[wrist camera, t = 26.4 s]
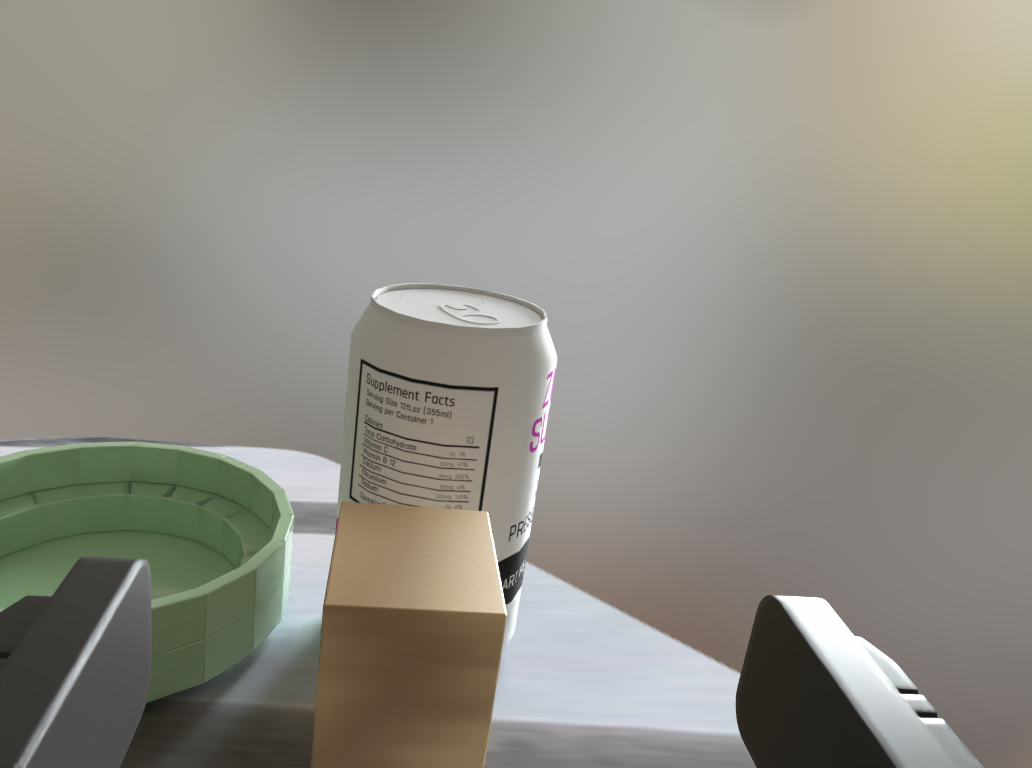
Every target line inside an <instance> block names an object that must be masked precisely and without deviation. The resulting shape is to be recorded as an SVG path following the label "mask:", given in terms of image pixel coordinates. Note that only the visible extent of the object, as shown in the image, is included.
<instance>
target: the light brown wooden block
mask: <svg viewBox="0 0 1032 768" xmlns="http://www.w3.org/2000/svg"><path fill="white" fill-rule="evenodd" d="M506 621H507V612H506V606H505V601H504V595H503V590H502V585H501V579H500V574H499V568H498V563H497V557H496V552H495V547H494V541H493V536H492V530H491V525H490V519H489V514H488V512H485V511H471V510H456V509H442V508H428V507H414V506H399V505H385V504H371V503H356V502H341V505H340V511H339V517H338V523H337V529H336V534H335V540H334V546H333V552H332V558H331V564H330V569H329V575H328V581H327V587H326V593H325V599H324V605H323V615H322V628H321V641H320V654H319V667H318V680H317V693H316V706H315V719H314V733H313V746H312V759H311V768H484V764H485V758H486V751H487V745H488V738H489V732H490V725H491V719H492V712H493V706H494V699H495V693H496V686H497V680H498V673H499V666H500V660H501V653H502V647H503V640H504V634H505V627H506Z"/></svg>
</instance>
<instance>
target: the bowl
mask: <svg viewBox="0 0 1032 768" xmlns="http://www.w3.org/2000/svg"><path fill="white" fill-rule="evenodd" d="M293 524H294V514H293V511H292V508H291V506H290V503H289V500H288V498H287V495H286V492H285V490H284V489H283V488H281V487H280V486H279V485H278V484H277V483H276V482H274V481H273V480H272V479H271V478H270V477H268V476H267V475H266V474H265V473H264V472H263V471H261V470H259V469H256V468H254V467H252V466H249V465H247V464H245V463H242V462H240V461H238V460H235V459H233V458H231V457H228V456H225V455H221V454H217V453H213V452H208V451H204V450H199V449H195V448H190V447H186V446H179V445H168V444H156V443H144V442H100V443H79V444H78V443H75V444H68V445H61V446H54V447H47V448H40V449H33V450H26V451H23V452H22V451H21V452H17V453H13V454H10V455H6V456H2V457H0V612H1V611H3V610H4V609H6V608H8V607H9V606H11V605H12V604H14V603H15V602H17V601H19V600H20V599H22V598H23V597H25V596H27V595H32V596H52V595H53V594H54V592H55V591H56V589H57V588H58V587H59V585H60V584H61V582H62V581H63V580H64V578H65V577H66V575H67V574H68V573H69V571H70V570H71V568H72V567H73V566H74V564H75V563H76V562H77V560H78V559H79V558H81V557H83V556H89V557H107V558H126V559H144V560H147V561H148V563H149V565H150V571H151V677H150V685H149V691H148V696H147V700H146V703H148V702H151V701H154V700H157V699H160V698H163V697H165V696H168V695H171V694H174V693H177V692H180V691H183V690H186V689H189V688H192V687H194V686H197V685H200V684H202V683H205V682H207V681H209V680H210V679H212V678H213V677H215V676H217V675H218V674H220V673H222V672H223V671H225V670H227V669H228V668H230V667H231V666H233V665H235V664H236V663H238V662H240V661H241V660H243V659H245V658H246V657H248V656H250V655H251V654H252V653H253V652H254V651H255V650H256V648H257V647H258V646H259V645H260V644H261V643H262V642H263V641H264V639H265V638H266V637H267V636H268V635H269V634H270V633H271V632H272V630H273V629H274V628H275V627H276V626H277V625H278V624H279V622H280V621H281V619H282V615H283V612H284V608H285V605H286V601H287V598H288V594H289V589H290V573H291V557H292V555H291V553H292V540H293Z"/></svg>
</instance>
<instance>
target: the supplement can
mask: <svg viewBox="0 0 1032 768" xmlns="http://www.w3.org/2000/svg"><path fill="white" fill-rule="evenodd" d="M546 324H547V315H546V312H545V311H544V310H543V309H541V308H539V307H538V306H536V305H535V304H533V303H530V302H527V301H525V300H522V299H519V298H517V297H514V296H510V295H506V294H502V293H497V292H493V291H489V290H483V289H477V288H471V287H465V286H455V285H443V284H422V283H420V284H419V283H408V284H398V285H388V286H385V287H382V288H379V289H376V290H374V292H373V294H372V295H371V302H370V304H369V306H368V308H367V309H366V311H365V312H364V314H363V315H362V317H361V318H360V320H359V321H358V323H357V324H356V326H355V328H354V330H353V332H352V333H351V346H350V358H349V370H348V383H347V395H346V408H345V420H344V433H343V445H342V458H341V471H340V483H339V496H338V508H337V521H336V529H337V523H338V517H339V511H340V505H341V502H356V503H371V504H385V505H399V506H414V507H428V508H442V509H456V510H471V511H485V512H488V514H489V519H490V525H491V530H492V536H493V541H494V547H495V552H496V557H497V563H498V568H499V574H500V579H501V585H502V590H503V595H504V601H505V606H506V612H507V621H506V627H505V634H504V640H503V647H502V651H503V650H504V649H505V648H506V646H507V644H508V642H509V641H510V639H511V637H512V636H513V634H514V631H515V625H516V619H517V612H518V606H519V599H520V593H521V587H522V580H523V574H524V568H525V561H526V554H527V548H528V541H529V536H530V529H531V523H532V516H533V510H534V504H535V497H536V491H537V484H538V478H539V472H540V466H541V459H542V453H543V446H544V440H545V433H546V427H547V420H548V415H549V408H550V402H551V395H552V389H553V383H554V377H555V370H556V364H557V355H556V352H555V348H554V346H553V343H552V340H551V337H550V334H549V331H548V328H547V325H546ZM335 534H336V533H335Z"/></svg>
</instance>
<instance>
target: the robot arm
mask: <svg viewBox="0 0 1032 768" xmlns="http://www.w3.org/2000/svg"><path fill="white" fill-rule="evenodd" d="M150 677H151V571H150V565H149V563H148V561H147V560H144V559H126V558H107V557H89V556H83V557H81V558H79V559H78V560H77V562H76V563H75V564H74V566H73V567H72V568H71V570H70V571H69V573H68V574H67V575H66V577H65V578H64V580H63V581H62V582H61V584H60V585H59V587H58V588H57V589H56V591H55V592H54V594H53V595H52V596H32V595H27V596H25V597H23V598H22V599H20V600H19V601H17V602H15V603H14V604H12V605H11V606H9V607H8V608H6V609H4V610H3V611H1V612H0V768H120V766H121V764H122V762H123V759H124V757H125V755H126V752H127V750H128V748H129V745H130V743H131V741H132V739H133V736H134V734H135V732H136V729H137V727H138V725H139V722H140V720H141V717H142V714H143V711H144V708H145V704H146V700H147V696H148V691H149V685H150ZM736 717H737V723H738V728H739V731H740V734H741V737H742V739H743V741H744V743H745V745H746V747H747V749H748V751H749V753H750V755H751V757H752V759H753V761H754V763H755V765H756V767H757V768H983V767H982V766H981V764H980V763H979V762H978V761H977V760H976V758H975V757H974V756H973V755H972V753H971V752H970V751H969V750H968V749H967V748H966V746H965V745H964V744H963V743H962V742H961V740H960V739H959V738H958V737H957V736H956V734H955V733H954V732H953V731H952V730H951V728H950V727H949V726H948V725H947V724H946V722H945V721H944V720H943V719H938V717H937V712H936V710H935V709H934V708H933V707H932V706H931V704H930V703H929V702H928V701H927V700H926V699H925V697H924V696H923V695H918V689H917V688H916V686H915V685H914V684H913V683H912V682H911V680H910V679H909V678H908V677H907V676H906V675H905V673H904V672H903V671H902V670H901V668H900V667H899V666H898V665H897V664H896V662H894V661H893V660H892V659H891V658H889V657H888V656H886V655H885V654H884V653H882V652H881V651H879V650H878V649H877V648H875V647H874V646H872V645H871V644H870V643H868V642H867V641H865V640H864V639H863V638H861V637H855V636H854V635H853V634H852V633H851V631H850V630H849V629H848V628H847V626H846V625H845V624H844V623H843V621H842V620H841V619H840V618H839V616H838V615H837V614H836V613H835V611H834V610H833V609H832V608H831V606H830V605H829V604H828V603H827V602H826V601H825V600H823V599H821V598H813V597H794V596H775V595H768V596H766V597H764V598H763V599H762V601H761V602H760V604H759V606H758V609H757V612H756V616H755V620H754V624H753V628H752V632H751V636H750V640H749V644H748V648H747V652H746V656H745V660H744V664H743V667H742V671H741V675H740V679H739V683H738V688H737V693H736Z"/></svg>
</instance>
